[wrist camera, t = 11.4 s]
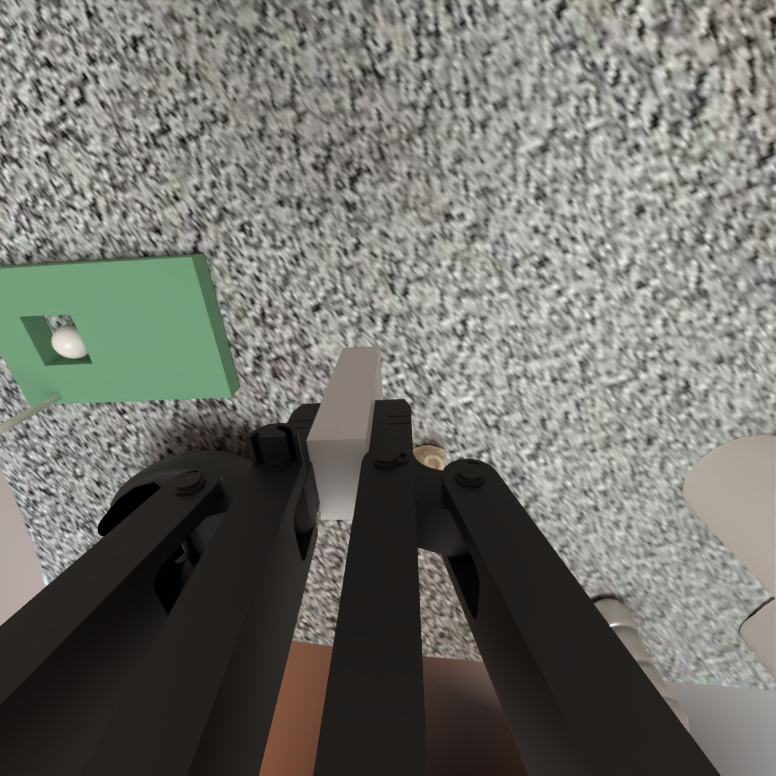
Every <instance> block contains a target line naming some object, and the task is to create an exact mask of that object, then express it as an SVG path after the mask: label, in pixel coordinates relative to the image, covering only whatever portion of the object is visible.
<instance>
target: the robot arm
mask: <svg viewBox="0 0 776 776" xmlns="http://www.w3.org/2000/svg"><path fill="white" fill-rule="evenodd" d="M288 421H289V422H287V423H274V424H268V425H265V426H262V427H259V428H257V429H256V430H254V431H252V432H251V433H250V434H249V435H248V436H247V437H246V438H245V439H246V442H247V446H248V450H249V453H250V457H251V460H252V464H253V465H252V466H251V468H250V470H249V472H248V473H246V474H243V475H240V476H236V477H232V478H228V479H223V480H220V477H219V475H218V473H217V472H216V471H215V470H213V469H210V468H196V469H191V470H188V471H186V472H183V473H181V474H179V475H177V476H175V477H174V478H173V479H171V480H170V481H168V482H167V483H166V484H165V485H164V486H162V487H161V488H160V489H159V490H158V491H157V492H155V493H154V494H153V495H152V496H151V497H150V498H148V499H147V500H146V501H145V502H144V503H143V504H142V505H140V506H139V507H138V508H137V509H136V510H135V511H133V512H132V513H131V514H130V515H129V516H128V517H126V518H125V519H124V520H123V521H122V522H121V523H119V524H118V525H117V526H116V527H115V528H114V529H112V530H111V531H110V532H109V533H108V534H107V535H106V536H104V537H103V538H102V539H101V540H100V541H99V542H97V543H96V544H95V545H94V546H93V547H92V548H90V549H89V550H88V551H87V552H86V553H85V554H83V555H82V556H81V557H80V558H79V559H78V560H76V561H75V562H74V563H73V564H72V565H71V566H70V567H68V568H67V569H66V570H65V571H64V572H63V573H61V574H60V575H59V576H58V577H57V578H56V579H54V580H53V581H52V582H51V583H50V584H49V585H47V586H46V587H45V588H44V589H43V590H42V591H41V592H39V593H38V594H37V595H36V596H35V597H34V598H32V599H31V600H30V601H29V602H28V603H27V604H25V605H24V606H23V607H22V608H21V609H20V610H18V611H17V612H16V613H15V614H14V615H13V616H12V617H10V618H9V619H8V620H7V621H6V622H5V623H3V624H2V625H1V626H0V776H259V773H260V769H261V764H262V760H263V756H264V752H265V748H266V744H267V740H268V736H269V732H270V728H271V724H272V719H273V715H274V711H275V707H276V703H277V699H278V695H279V690H280V686H281V682H282V679H283V674H284V671H285V666H286V662H287V658H288V654H289V650H290V646H291V642H292V638H293V634H294V630H295V626H296V622H297V617H298V613H299V609H300V605H301V601H302V597H303V593H304V589H305V585H306V581H307V577H308V573H309V568H310V564H311V560H312V556H313V552H314V548H315V544H316V540H317V536H318V528H317V523H316V516H317V512H318V508H319V509H320V514H321V519H322V520H338V519H353V521H352V527H351V534H350V540H349V547H348V553H347V560H346V566H345V573H344V579H343V586H342V592H341V599H340V605H339V612H338V618H337V625H336V631H335V638H334V644H333V651H332V657H331V664H330V670H329V677H328V683H327V689H326V697H325V702H324V710H323V715H322V722H321V729H320V735H319V742H318V748H317V755H316V761H315V767H314V774H313V776H428V775H427V752H426V731H425V708H424V687H423V686H424V685H423V663H422V640H421V618H420V595H419V573H418V550H417V547H418V548H421V549H425V550H428V551H432V552H435V553H439V554H442V558H443V561H444V564H445V566H446V569H447V571H448V574H449V576H450V579H451V581H452V584H453V586H454V589H455V591H456V594H457V596H458V599H459V601H460V604H461V606H462V609H463V611H464V614H465V616H466V619H467V621H468V624H469V627H470V629H471V632H472V634H473V637H474V639H475V642H476V644H477V647H478V649H479V652H480V654H481V657H482V659H483V662H484V664H485V666H486V669H487V671H488V674H489V677H490V679H491V681H492V684H493V687H494V689H495V692H496V694H497V697H498V699H499V701H500V704H501V707H502V709H503V712H504V714H505V717H506V719H507V722H508V724H509V727H510V729H511V732H512V734H513V737H514V739H515V742H516V744H517V747H518V749H519V752H520V754H521V757H522V759H523V762H524V764H525V767H526V769H527V772H528V774H529V776H720V774H719V773H718V772H717V770H716V769H715V768H714V766H713V765H712V763H711V762H710V761H709V759H708V758H707V757H706V755H705V754H704V753H703V751H702V750H701V749H700V747H699V746H698V744H697V743H696V742H695V740H694V739H693V738H692V736H691V735H690V733H689V732H688V731H687V729H686V728H685V727H684V725H683V724H682V723H681V721H680V720H679V719H678V717H677V716H676V714H675V713H674V712H673V710H672V709H671V708H670V706H669V705H668V704H667V702H666V701H665V700H664V698H663V697H662V695H661V694H660V693H659V691H658V690H657V689H656V687H655V686H654V685H653V683H652V682H651V680H650V679H649V678H648V676H647V675H646V674H645V672H644V671H643V670H642V668H641V667H640V666H639V664H638V663H637V661H636V660H635V659H634V657H633V656H632V655H631V653H630V652H629V651H628V649H627V648H626V647H625V645H624V644H623V642H622V641H621V640H620V638H619V637H618V636H617V634H616V633H615V632H614V630H613V629H612V627H611V626H610V625H609V623H608V622H607V621H606V619H605V618H604V617H603V615H602V614H601V613H600V611H599V610H598V608H597V607H596V606H595V604H594V603H593V602H592V600H591V599H590V598H589V596H588V595H587V594H586V592H585V591H584V589H583V588H582V587H581V585H580V584H579V583H578V581H577V580H576V579H575V577H574V576H573V574H572V573H571V572H570V570H569V569H568V568H567V566H566V565H565V564H564V562H563V561H562V560H561V558H560V557H559V555H558V554H557V553H556V551H555V550H554V549H553V547H552V546H551V545H550V543H549V542H548V541H547V539H546V538H545V536H544V535H543V534H542V532H541V531H540V530H539V528H538V527H537V526H536V524H535V523H534V521H533V520H532V519H531V517H530V516H529V515H528V513H527V512H526V511H525V509H524V508H523V507H522V505H521V504H520V502H519V501H518V500H517V498H516V497H515V496H514V494H513V493H512V492H511V490H510V489H509V488H508V486H507V485H506V483H505V482H504V481H503V479H502V478H501V477H500V475H499V474H498V473H497V471H496V470H495V469H494V468H492V467H491V466H490V465H489V464H486V463H484V462H482V461H479V460H474V459H459V460H456V461H453V462H451V463H449V464H448V465H447V466H446V467H445V468H444V470H438V469H434V468H431V467H428V466H426V465H424V464H422V463H420V462H419V461H418V460H417V459H416V458H415V456H414V453H413V444H412V424H411V406H410V405H409V404H408V403H407V402H406V401H405V399H394V400H383V390H382V377H381V363H380V350H379V346H374V347H352V348H343V349H342V351H341V354H340V356H339V359H338V362H337V364H336V367H335V369H334V372H333V374H332V377H331V379H330V382H329V384H328V387H327V390H326V392H325V395H324V397H323V400H322V402H321V403H315V404H302V405H301V406H300V407H298V408H297V409H296V410H295V411H293V413H292V415H291V417H290V418H289V420H288ZM180 545H181V546H182V548H183V550H184V553H183V555H182V556H181V557H179V558H178V559H177V560H176V561H174V560H173V558H172V556H171V555H172V554H173V553H174V552H175V551H176V550H177V549H178V548H179V546H180Z"/></svg>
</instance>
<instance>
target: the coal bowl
mask: <svg viewBox="0 0 776 776" xmlns="http://www.w3.org/2000/svg"><path fill="white" fill-rule="evenodd" d="M252 465H253V464H252V461H251V460H249V459H247V458H245V457H243V456H240V455H237V454H234V453H230V452H225V451H218V450H197V451H191V452H185V453H181V454H177V455H174V456H171V457H168V458H165V459H163V460H161V461H158V462H156V463H154V464H152V465H150V466H149V467H147V468H145V469H144V470H142V471H140V472H139V473H138V474H136V475H135V476H133V477H132V478H131V479H130V480H129V481H127V482H126V483H125V484H124V485H123V486H122V487H121V488H120V489H119V490H118V492H117V493H116V495H115V497H114V499H113V501H112V503H111V507H110V509H109V511H108V512H107V513H106V515H105V516H104V517H103V518H102V520H101V521H100V523H99V524H98V533H99V535H101V536H106V535H107V534H108V533H109V532H110V531H111V530H112V529H114V528H115V527H116V526H117V525H118V524H119V523H121V522H122V521H123V520H124V519H125V518H126V517H128V516H129V515H130V514H131V513H132V512H133V511H135V510H136V509H137V508H138V507H139V506H140V505H142V504H143V503H144V502H145V501H146V500H147V499H148V498H150V497H151V496H152V495H153V494H154V493H155V492H157V491H158V490H159V489H160V488H161V487H162V486H164V485H165V484H166V483H167V482H168V481H170V480H171V479H173V478H174V477H175V476H177V475H179V474H181V473H183V472H186V471H188V470H191V469H196V468H210V469H213V470H215V471H216V472H217V473H218V475H219V477H220V480H223V479H228V478H232V477H236V476H240V475H243V474H246V473H248V472H249V470H250V468H251V466H252ZM183 553H184V550H183V548H182V546H181V545H180V546H179V548H178V549H177V550H176V551H175V552H174V553H173V554H172V555H171V556H172V558H173V560H174V561H176V560H177V559H178V558H179V557H181V556H182V555H183Z"/></svg>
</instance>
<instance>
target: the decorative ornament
mask: <svg viewBox="0 0 776 776" xmlns="http://www.w3.org/2000/svg"><path fill="white" fill-rule="evenodd" d="M445 452H446V450H445V449H442V448H439V447H436V446H432V445H422V446H420V447H415V448H414V449H413V453H414V456H415V458H416V459H417V460H418V461H419V462H420V463H422V464H424V465H426V466H428V467H431V468H434V469H438V470H443V469H444V466H445V463H444V460H443V457H444V454H445Z"/></svg>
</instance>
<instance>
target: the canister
mask: <svg viewBox="0 0 776 776" xmlns="http://www.w3.org/2000/svg"><path fill="white" fill-rule="evenodd" d="M683 498H684V500H685V502H686V504H687V505H688V506H689V507H690V508H691V509H692V511H693V512H694V513H695V514H696V515H697V516H698V517H699V518H700V519H701V520H702V521H703V522H704V523H705V524H706V525H707V526H708V528H709V529H710V530H711V531H712V532H713V533H714V534H715V535H716V536H717V537H718V538H719V539H720V540H721V541H722V542H723V543H724V545H725V546H726V547H727V548H728V549H729V550H730V551H731V552H732V553H733V554H734V555H735V556H736V557H737V558H738V559H739V560H740V562H741V563H742V564H743V565H744V566H745V567H746V568H747V569H748V570H749V571H750V572H751V573H752V574H753V575H754V576H755V577H756V579H757V580H758V581H759V582H760V583H761V584H762V585H763V586H764V587H765V588H766V589H767V590H768V591H769V592H770V593H771V594H772V596H773V597H774V598H775V599H776V436H771V435H754V436H747V437H742V438H739V439H735V440H732V441H730V442H727V443H725V444H723V445H721V446H719V447H717V448H715V449H713V450H712V451H710V452H709V453H707V454H706V455H705V456H703V457H702V458H701V459H700V460H699V461H698V462H697V463H696V464H695V465H694V466H693V467H692V468H691V470H690V471H689V473H688V474H687V476H686V478H685V481H684V484H683Z"/></svg>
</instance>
